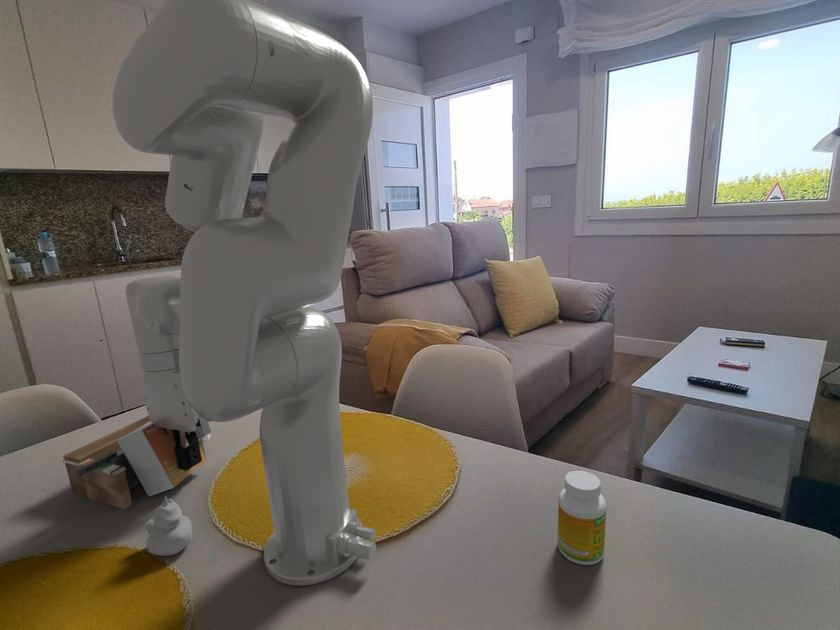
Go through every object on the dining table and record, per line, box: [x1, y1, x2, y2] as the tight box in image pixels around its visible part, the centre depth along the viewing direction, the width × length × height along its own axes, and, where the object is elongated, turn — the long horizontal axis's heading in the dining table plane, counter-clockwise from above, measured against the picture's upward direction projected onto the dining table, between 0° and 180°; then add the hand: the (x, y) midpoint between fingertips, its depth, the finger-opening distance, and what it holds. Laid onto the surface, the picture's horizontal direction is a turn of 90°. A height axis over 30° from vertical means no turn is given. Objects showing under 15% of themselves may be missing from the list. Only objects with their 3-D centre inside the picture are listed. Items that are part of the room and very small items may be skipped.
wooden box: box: [62, 415, 206, 510], centre depth 74 cm, size 12×16×7 cm
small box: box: [117, 421, 207, 497], centre depth 71 cm, size 8×6×10 cm
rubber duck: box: [144, 496, 193, 557], centre depth 57 cm, size 5×7×8 cm
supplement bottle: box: [557, 470, 607, 566], centre depth 52 cm, size 5×5×10 cm
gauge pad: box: [75, 449, 140, 489], centre depth 72 cm, size 3×16×6 cm, turn 159°
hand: (190, 465), depth 70 cm, fingers closed
